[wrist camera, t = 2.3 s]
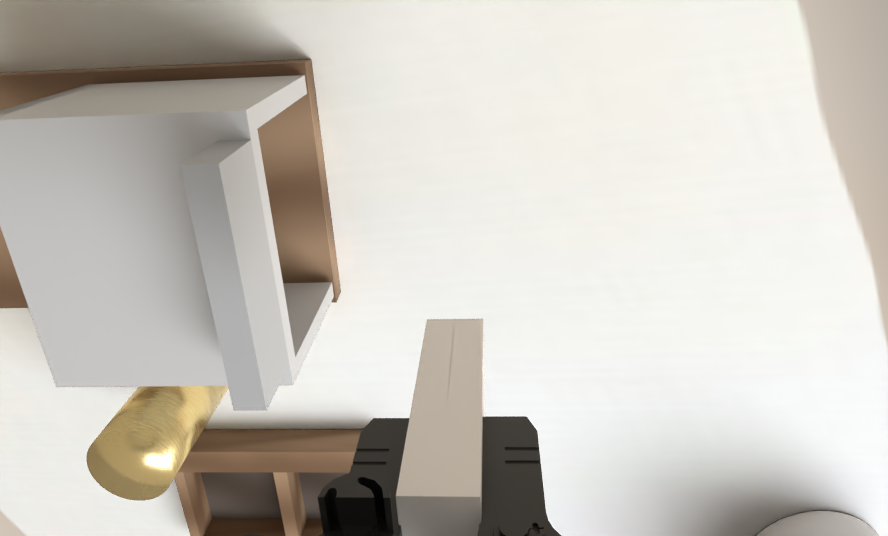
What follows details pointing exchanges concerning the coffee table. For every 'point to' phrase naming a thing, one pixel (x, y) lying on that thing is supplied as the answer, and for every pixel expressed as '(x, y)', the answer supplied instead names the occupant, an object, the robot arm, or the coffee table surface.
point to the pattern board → (282, 147)
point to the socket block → (261, 480)
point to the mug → (819, 525)
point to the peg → (151, 438)
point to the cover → (155, 236)
